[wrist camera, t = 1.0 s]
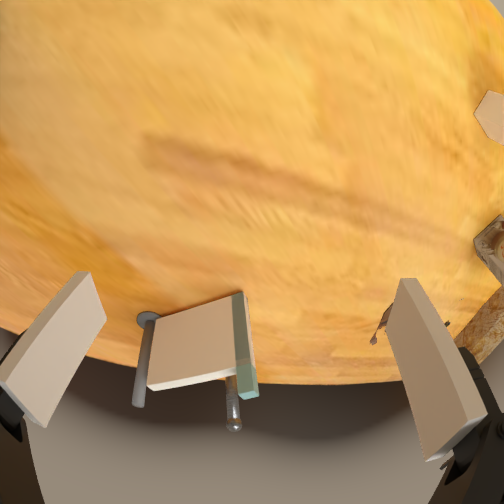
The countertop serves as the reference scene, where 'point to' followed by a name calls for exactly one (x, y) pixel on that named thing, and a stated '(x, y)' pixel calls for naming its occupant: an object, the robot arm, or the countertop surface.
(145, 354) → the gate
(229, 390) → the post
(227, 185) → the countertop surface
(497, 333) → the bread
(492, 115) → the milk
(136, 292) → the countertop surface
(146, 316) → the sill
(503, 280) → the coffee box
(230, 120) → the countertop surface
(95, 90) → the countertop surface
